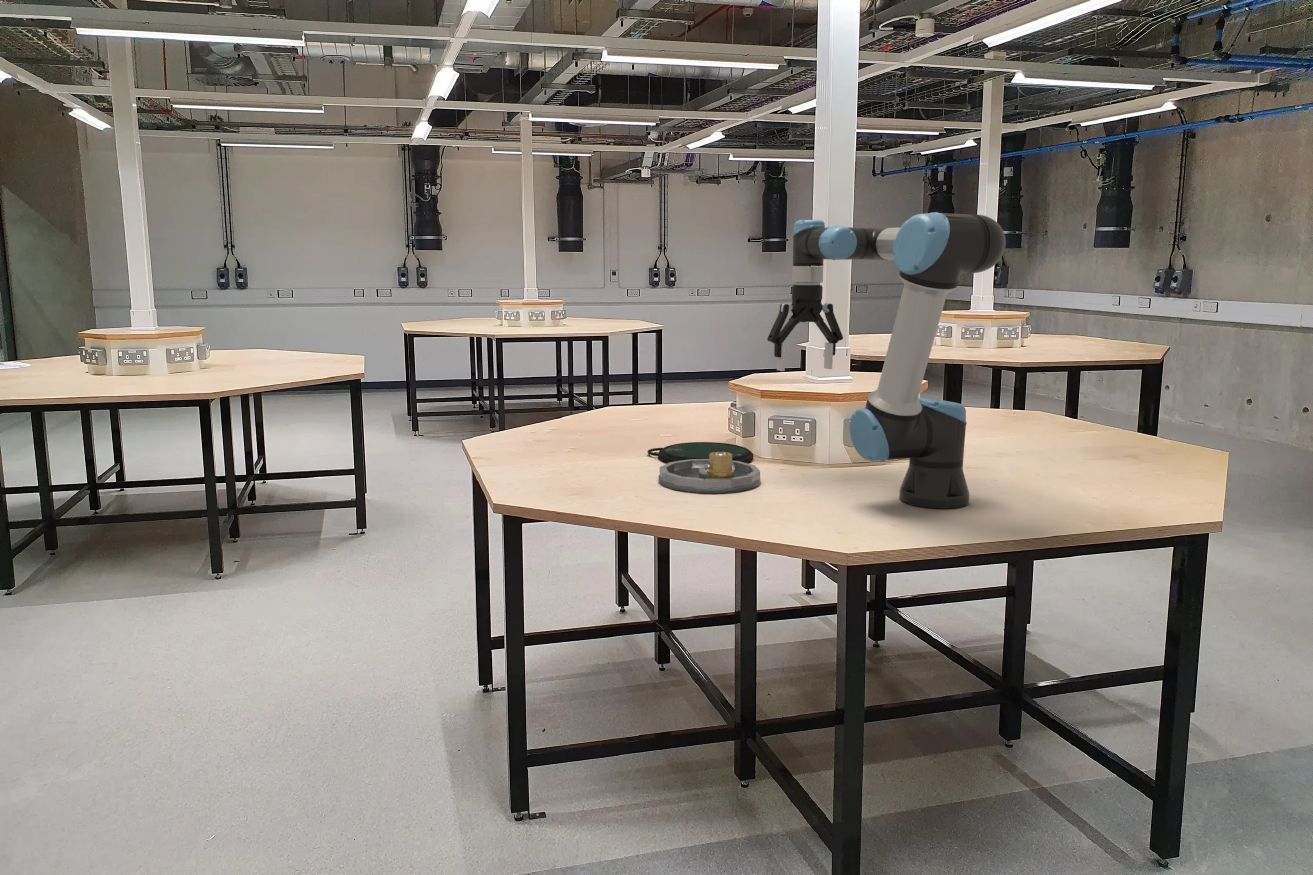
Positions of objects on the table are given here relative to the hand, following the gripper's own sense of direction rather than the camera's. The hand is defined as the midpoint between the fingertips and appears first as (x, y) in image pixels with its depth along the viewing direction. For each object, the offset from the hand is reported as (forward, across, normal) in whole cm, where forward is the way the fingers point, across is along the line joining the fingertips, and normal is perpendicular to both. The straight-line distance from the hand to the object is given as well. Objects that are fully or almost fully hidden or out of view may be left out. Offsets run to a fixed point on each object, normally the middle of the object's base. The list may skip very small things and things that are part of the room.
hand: (804, 369), depth 232 cm
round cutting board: (+27, +17, -27) cm, 42 cm away
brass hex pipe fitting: (+26, +26, +7) cm, 37 cm away
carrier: (+27, +26, +1) cm, 37 cm away
